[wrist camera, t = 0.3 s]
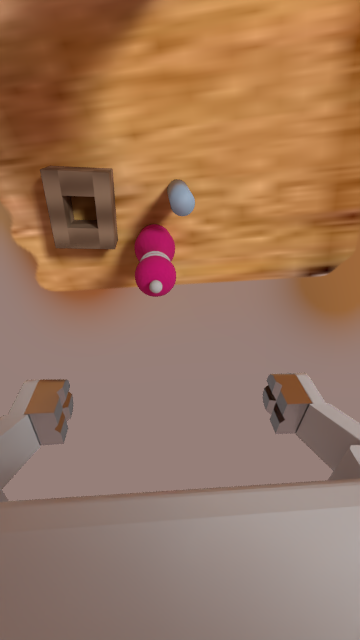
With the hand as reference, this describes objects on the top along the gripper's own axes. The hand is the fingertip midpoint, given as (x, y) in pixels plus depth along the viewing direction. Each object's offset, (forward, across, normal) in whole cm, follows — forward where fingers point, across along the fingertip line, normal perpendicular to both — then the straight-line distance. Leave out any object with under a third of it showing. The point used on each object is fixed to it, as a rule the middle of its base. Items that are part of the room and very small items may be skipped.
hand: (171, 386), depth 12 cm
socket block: (+46, +12, +3) cm, 47 cm away
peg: (+46, -4, 0) cm, 46 cm away
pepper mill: (+46, 0, +9) cm, 47 cm away
